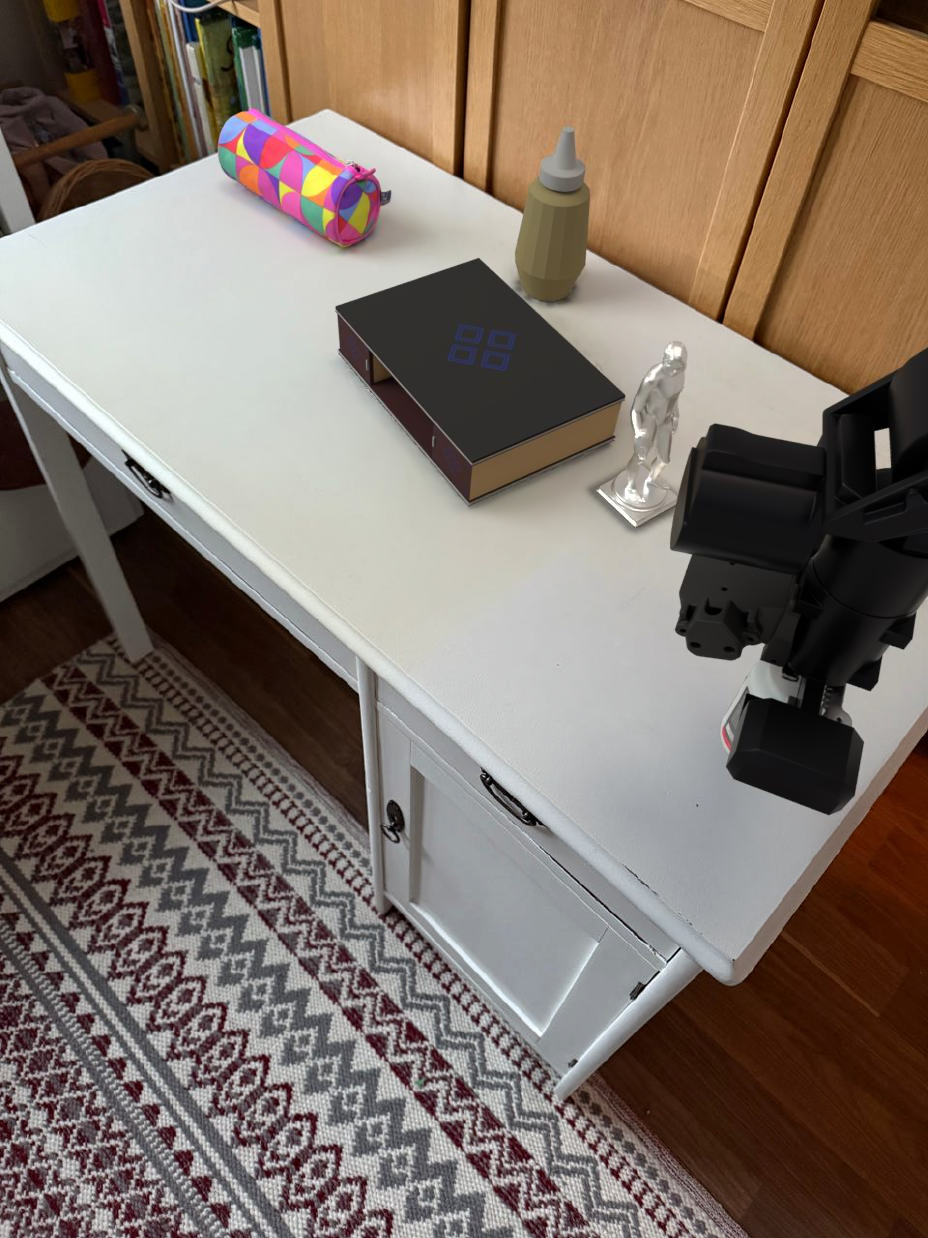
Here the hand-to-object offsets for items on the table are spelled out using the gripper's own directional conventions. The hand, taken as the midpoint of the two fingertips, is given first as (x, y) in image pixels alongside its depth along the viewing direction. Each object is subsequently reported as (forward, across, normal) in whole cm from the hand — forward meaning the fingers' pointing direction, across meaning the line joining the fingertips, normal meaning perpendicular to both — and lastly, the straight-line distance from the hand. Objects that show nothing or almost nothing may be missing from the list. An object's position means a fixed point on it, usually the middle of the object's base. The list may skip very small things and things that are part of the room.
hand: (771, 722), depth 59 cm
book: (+12, -33, -34) cm, 49 cm away
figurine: (+12, -27, -15) cm, 33 cm away
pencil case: (+12, -56, -66) cm, 87 cm away
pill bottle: (+3, 0, 0) cm, 3 cm away
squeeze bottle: (+12, -55, -34) cm, 66 cm away
